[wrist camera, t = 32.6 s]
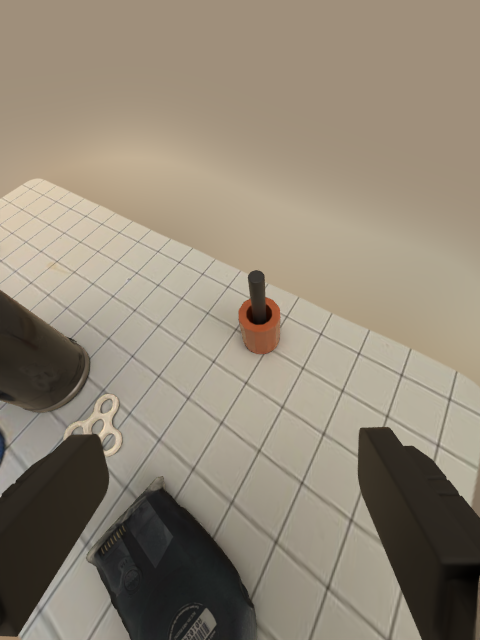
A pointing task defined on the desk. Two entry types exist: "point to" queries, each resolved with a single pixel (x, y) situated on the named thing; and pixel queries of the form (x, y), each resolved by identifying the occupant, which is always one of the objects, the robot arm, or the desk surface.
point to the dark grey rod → (257, 296)
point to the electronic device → (171, 575)
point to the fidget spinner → (106, 419)
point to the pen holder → (260, 328)
